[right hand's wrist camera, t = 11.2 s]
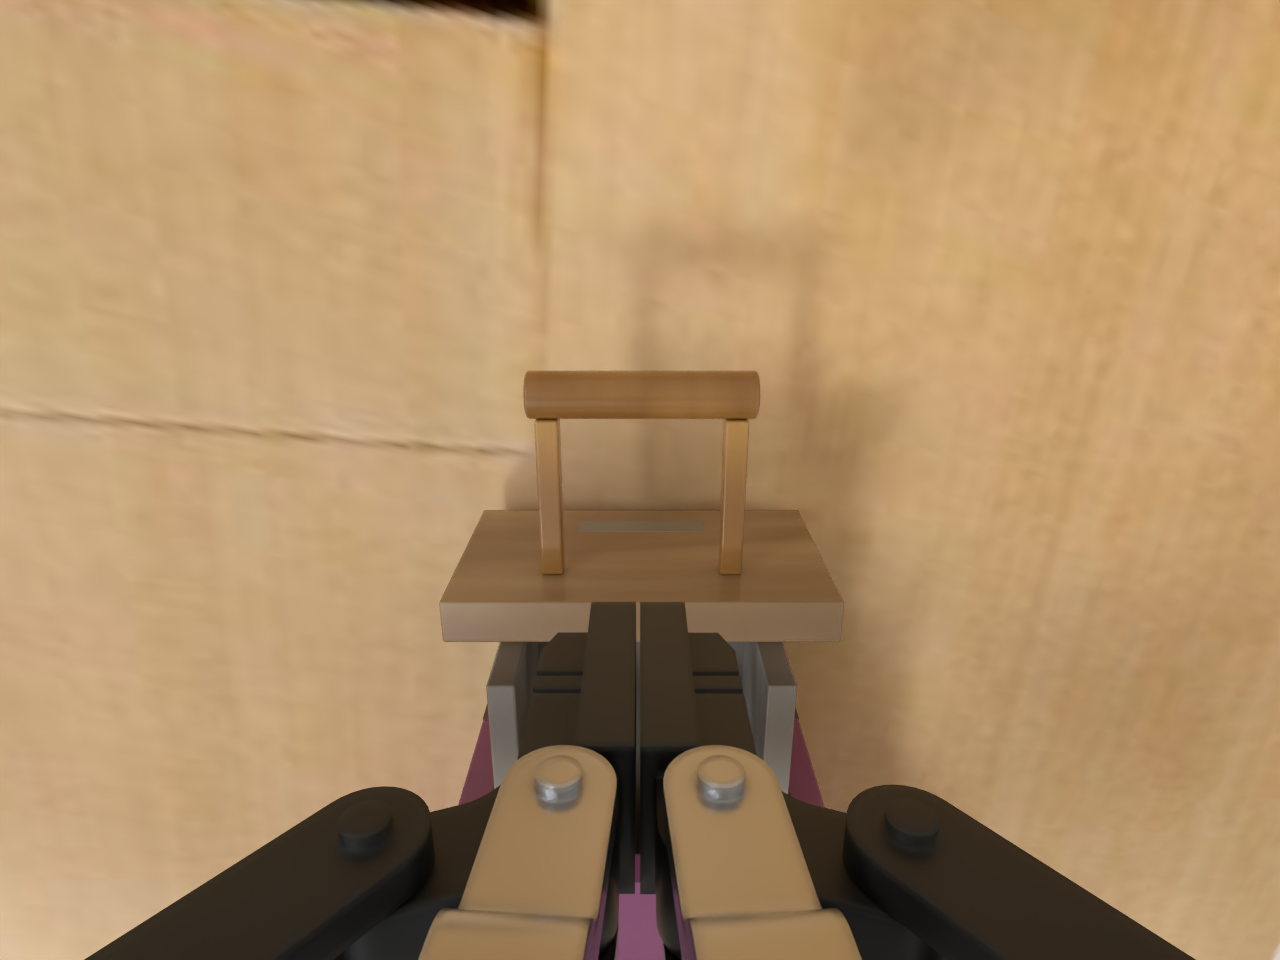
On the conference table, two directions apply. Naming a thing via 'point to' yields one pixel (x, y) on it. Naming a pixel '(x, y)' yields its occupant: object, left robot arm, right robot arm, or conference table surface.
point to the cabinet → (639, 909)
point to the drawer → (643, 561)
